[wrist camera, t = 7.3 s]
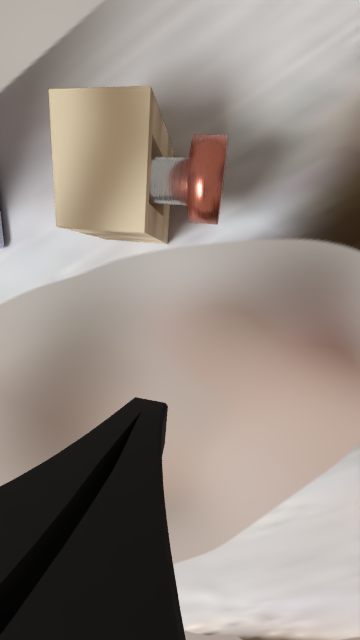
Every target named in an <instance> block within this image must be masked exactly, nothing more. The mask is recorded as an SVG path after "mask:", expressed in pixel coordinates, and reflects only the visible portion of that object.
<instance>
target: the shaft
mask: <svg viewBox="0 0 360 640" xmlns="http://www.w3.org/2000/svg"><path fill="white" fill-rule="evenodd" d="M227 146H228V135H224V134H195V135H194V136H193V139H192V143H191V149H190V157H151V169H150V191H149V203H152V204H171V205H187V209H188V218H189V222H190V223H203V224H218V220H219V213H220V206H221V198H222V190H223V182H224V173H225V164H226V155H227Z"/></svg>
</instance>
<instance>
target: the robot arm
mask: <svg viewBox="0 0 360 640" xmlns="http://www.w3.org/2000/svg"><path fill="white" fill-rule="evenodd" d="M3 247H4V239H3V230H2V222H1V213H0V249H2V248H3ZM167 408H168V406H167V405H166V403H162V402H157V401H152V400H147V399H141V398H136V397H135V398H134V399H133V400H131V401H130V402H129V403H127V404H126V405H125V406H124V407H122V408H121V409H120V410H118V411H117V412H116V413H115V414H113V415H112V416H111V417H109V418H108V419H107V420H105V421H104V422H103V423H101V424H100V425H98V426H97V427H96V428H94V429H93V430H92V431H90V432H89V433H88V434H86V435H85V436H83V437H82V438H80V439H79V440H77V441H76V442H74V443H73V444H71V445H70V446H68V447H67V448H65V449H64V450H62V451H61V452H59V453H58V454H56V455H55V456H53V457H51V458H50V459H48V460H47V461H45V462H43V463H42V464H40V465H38V466H36V467H35V468H33V469H31V470H29V471H28V472H26V473H24V474H23V475H21V476H19V477H17V478H15V479H14V480H12V481H10V482H8V483H6V484H4V485H2V486H0V640H186V639H185V634H184V628H183V623H182V617H181V612H180V606H179V599H178V593H177V587H176V581H175V574H174V568H173V562H172V556H171V550H170V543H169V534H168V527H167V520H166V509H165V500H164V490H163V473H162V454H163V449H164V444H165V432H166V421H167Z"/></svg>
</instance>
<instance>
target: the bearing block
mask: <svg viewBox="0 0 360 640" xmlns="http://www.w3.org/2000/svg"><path fill="white" fill-rule="evenodd" d="M49 107H50V125H51V142H52V160H53V178H54V196H55V214H56V226H57V227H61V228H65V229H68V230H72V231H76V232H80V233H84V234H88V235H91V236H95V237H99V238H103V239H110V240H123V241H136V242H148V243H161V244H167V243H168V229H169V214H170V204H152V203H149V191H150V169H151V157H174V149H173V146H172V143H171V141H170V138H169V135H168V132H167V130H166V127H165V124H164V121H163V119H162V116H161V113H160V110H159V107H158V105H157V102H156V99H155V96H154V94H153V91H152V88H151V86H132V87H100V88H69V89H49Z"/></svg>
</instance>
